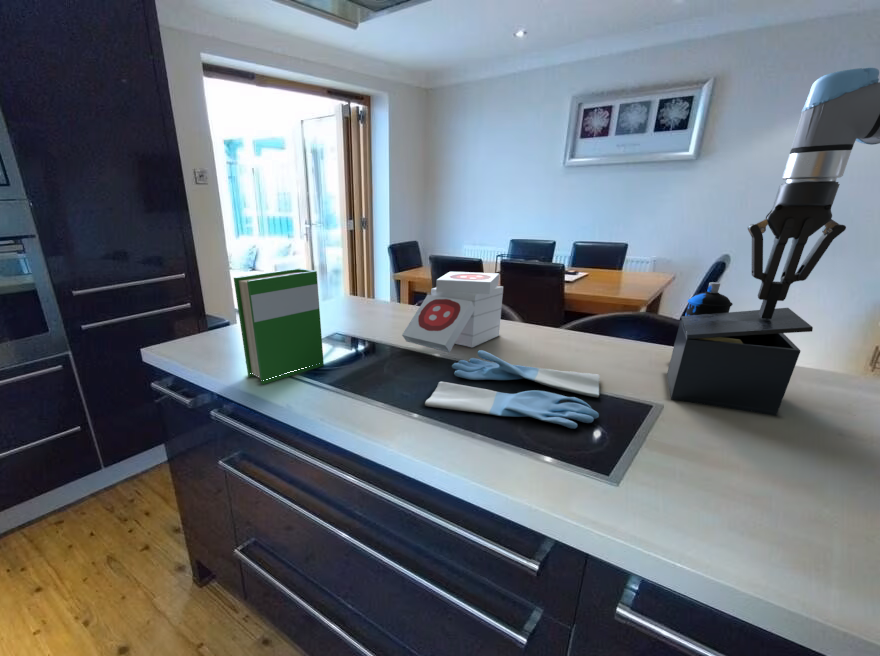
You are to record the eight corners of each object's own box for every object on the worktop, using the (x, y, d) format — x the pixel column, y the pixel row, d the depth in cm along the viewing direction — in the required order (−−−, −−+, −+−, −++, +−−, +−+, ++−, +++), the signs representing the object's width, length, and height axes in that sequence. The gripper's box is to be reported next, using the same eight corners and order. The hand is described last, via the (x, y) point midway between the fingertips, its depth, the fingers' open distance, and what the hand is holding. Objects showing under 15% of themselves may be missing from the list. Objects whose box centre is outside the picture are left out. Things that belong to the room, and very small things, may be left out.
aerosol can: (695, 360, 109) (717, 279, 101) (721, 372, 102) (748, 285, 94) (663, 362, 109) (683, 280, 101) (687, 374, 101) (711, 287, 93)
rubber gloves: (601, 436, 77) (608, 402, 74) (423, 406, 90) (423, 377, 87) (598, 380, 100) (603, 353, 97) (456, 363, 113) (457, 338, 110)
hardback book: (262, 384, 103) (248, 281, 94) (248, 376, 108) (233, 277, 99) (323, 365, 114) (316, 271, 104) (307, 358, 119) (299, 268, 109)
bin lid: (787, 311, 88) (788, 307, 87) (812, 331, 75) (812, 327, 75) (681, 319, 97) (681, 316, 97) (687, 338, 84) (687, 334, 84)
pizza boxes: (396, 346, 126) (396, 283, 119) (456, 325, 146) (459, 269, 139) (452, 361, 114) (455, 291, 107) (509, 335, 133) (515, 274, 126)
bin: (758, 386, 94) (778, 328, 89) (776, 415, 82) (801, 350, 77) (666, 373, 102) (680, 320, 97) (670, 399, 90) (686, 339, 85)
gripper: (854, 179, 74) (804, 315, 84) (756, 182, 80) (719, 309, 90) (873, 178, 68) (816, 325, 78) (765, 182, 74) (725, 318, 84)
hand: (764, 317), depth 84 cm, fingers closed
